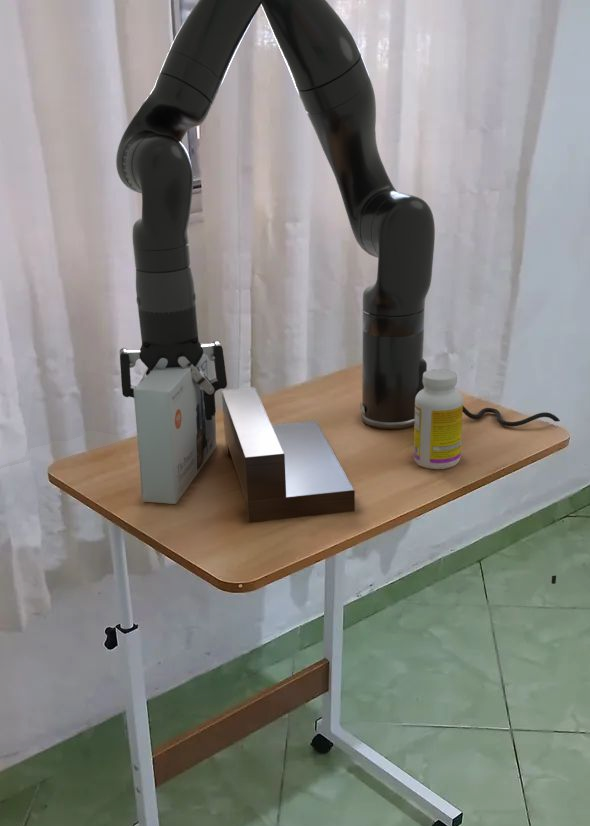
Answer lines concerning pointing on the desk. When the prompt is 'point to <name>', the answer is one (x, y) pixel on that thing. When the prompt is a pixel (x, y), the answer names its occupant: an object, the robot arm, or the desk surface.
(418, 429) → the supplement bottle
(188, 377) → the skincare box
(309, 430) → the metal step block
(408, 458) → the desk surface
